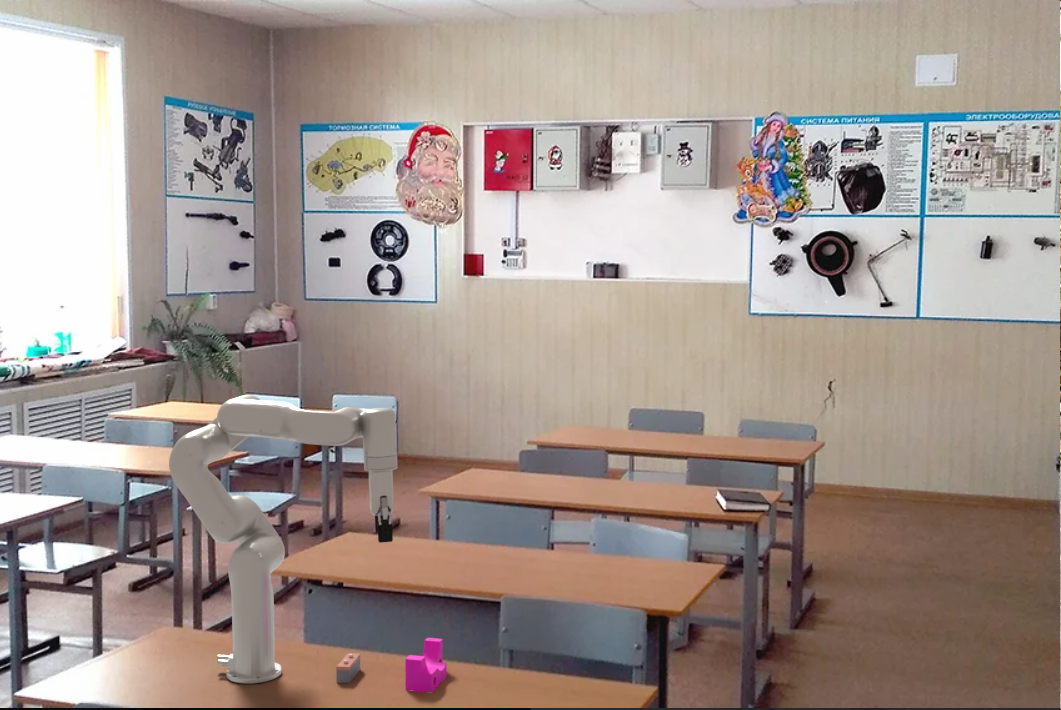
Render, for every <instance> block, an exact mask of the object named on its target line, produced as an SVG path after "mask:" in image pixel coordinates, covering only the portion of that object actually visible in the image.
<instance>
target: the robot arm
mask: <svg viewBox="0 0 1061 710" xmlns="http://www.w3.org/2000/svg"><path fill="white" fill-rule="evenodd" d="M216 415H217V416H216V417H215V418H214V419H212V421H210V422H209V423H208V424H207V425H205V426H202V427H200V428H196V429H194V430H191V431H190V432H188V433H186V434H184V435H183V436H181V437H180V438H179V439H178V440H177V441H176V442H175V444H174V445H173V447H172V449H171V452H170V456H169V460H168V467H169V469H168V470H169V473H170V476H171V478H172V481H173V483H174V484H175V486H176V487H177V488H178V490H179V491H180V493H181V494H182V496H184V498H185V499H186V501H187V502H188V504H189V505H190V506H191V509H192V510H193V513H195V515H196V516H197V518H198V519H199V520H200V522H201V523H202V525H203V526H204V528H205V529H206V531H207V532H208V533H209V535H210V536H211V538H212V539H213V540H214V541H216V542H217V543H220V544H224V545H226V544H231V543H234V542H235V541H236V543H237V544H238V546H237V547H236V548H235V549H234V550H233V551H232V553H231V554H230V556H229V559H228V564H227V573H228V579H229V584H230V595H231V619H232V621H231V622H232V624H231V627H232V631H231V632H232V633H231V634H232V653H230V655H228V654H221V653H220V654H217V656H216V662H217V666H218V667H219V666H220V667H222V666H223V667H224V666H225V667H227V669H226V671H225V674H226V678H227V680H228V681H231V682H232V683H233V682H234V683H237V684H238V683H239V684H251V685H252V684H258V683H265V682H270V681H272V680H275V679H276V678H278V677H279V676H281V674H282V672H283V671H282V669H283V668H282V665H281V664H279V663H278V662H276V661H275V658H276V657H275V656H276V655H275V653H276V651H275V649H276V648H275V646H276V645H275V604H274V602H275V600H274V597H275V595H274V588H273V585H272V579H271V578H272V577H271V575H272V573H273V572H274V571H275V570H276V569H278V568H279V567H280V566H281V564H282V563H283V561H284V558H285V557H286V555H285V554H286V549H285V548H286V547H285V545H284V543H283V540H282V538H281V536H280V535H279V533H278V531H276V529H275V528H274V526H273V525H272V523H271V521H269V519H268V518H267V516H266V515H265V513H264V512H263V510H262V508H261V507H260V506H259V505H258V504H257V502H255V501H254V500H253V499H251V498H250V497H248V496H246V495H242V494H241V495H232V496H231V495H230V493H229V492H228V490H227V489H226V488H225V486H224V484H223V483H222V482H221V480H220V479H219V478H218V477H217V476H216V475H215V474H214V473H212V472H211V471H210V470H209V468H208V467H209V465H210V464H211V463H215V462H217V461H218V460H220V459H222V458H224V457H225V456H227V455H228V454H230V453H231V452H232V451H233V450H234V449H236V447H238V446H239V445H240V444H242V442H244V441H245V440H246V439H248V438H249V437H253V438H267V439H278V440H279V439H280V440H287V441H289V442H296V443H300V444H305V445H306V444H307V445H317V446H331V447H333V446H334V447H338V446H345V445H347V444H348V443H350V442H352V441H354V440H357V439H359V438H362V445H363V446H362V447H363V451H362V452H363V466H364V467H363V468H364V469H363V470H364V471H366V472H368V495H369V496H368V497H369V511H370V513H371V515H372V516H374V525H375V527H374V528H375V533H376V534H377V540H378V543H379V544H380V543H382V544H383V543H392V542H393V541H394V537H393V535H394V534H393V523H392V519H391V518H392V517H391V515H392V513H393V512H394V478H393V477H394V476H393V475H394V473H393V471H395V470H397V469H398V468H399V467H398V450H397V449H398V448H397V445H398V444H397V426H396V425H397V424H396V413H395V411H394V410H393V409H392V408H390V407H373V408H363V407H356V406H347V407H346V406H345V407H342V408H340V409H338V410H336V411H335V410H334V411H333V412H330V411H329V412H327V411H313V410H305V409H302V408H298V407H296V406H295V405H294V404H293V403H292V402H289V401H278V400H264V399H260V398H259V397H257V396H255V395H250V394H244V395H240V396H236V397H234V398H230V399H228V400H227V401H225V402H223V403H222V404H221V406H220V407H219V409H218V411H217V414H216Z"/></svg>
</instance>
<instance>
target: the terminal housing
mask: <svg viewBox="0 0 1061 710" xmlns="http://www.w3.org/2000/svg"><path fill="white" fill-rule="evenodd" d="M360 670H361V653H357V652H354V653H351V652H347V653H346V654H345V656H344V657H343V658H342V659H341V661H339V663H338V664H337V665H336V671H335V672H336V683H337V684H338V683H339V684H350V683H351V681H352V680H353V679H354V678H355V677H356V676H357V674H358V673H359V672H360Z"/></svg>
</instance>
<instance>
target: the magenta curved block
mask: <svg viewBox="0 0 1061 710" xmlns="http://www.w3.org/2000/svg"><path fill="white" fill-rule="evenodd" d="M443 640H444V639H443V638H435V637H427V638H426V639H424V643H423V644H424V647H423V652H422V655H415V654H414V655H413V654H409V655H407V657H406V658H405V660H404V663H405V667H404V668H405V669H404V670H405V691H406V690H413V691H412V692H416V691H422V692H421V693H426V692H432V693H434V691H436V689H437V688H438V687H439V686H440V685H441V684H440V683H443V681H445V679H446V678H447V662H443V660H444V659H443V657H444V655H443V652H444V651H443V650H444V649H443V645H444V644H443V643H444V641H443ZM439 684H440V685H439ZM436 687H437V688H436Z"/></svg>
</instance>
